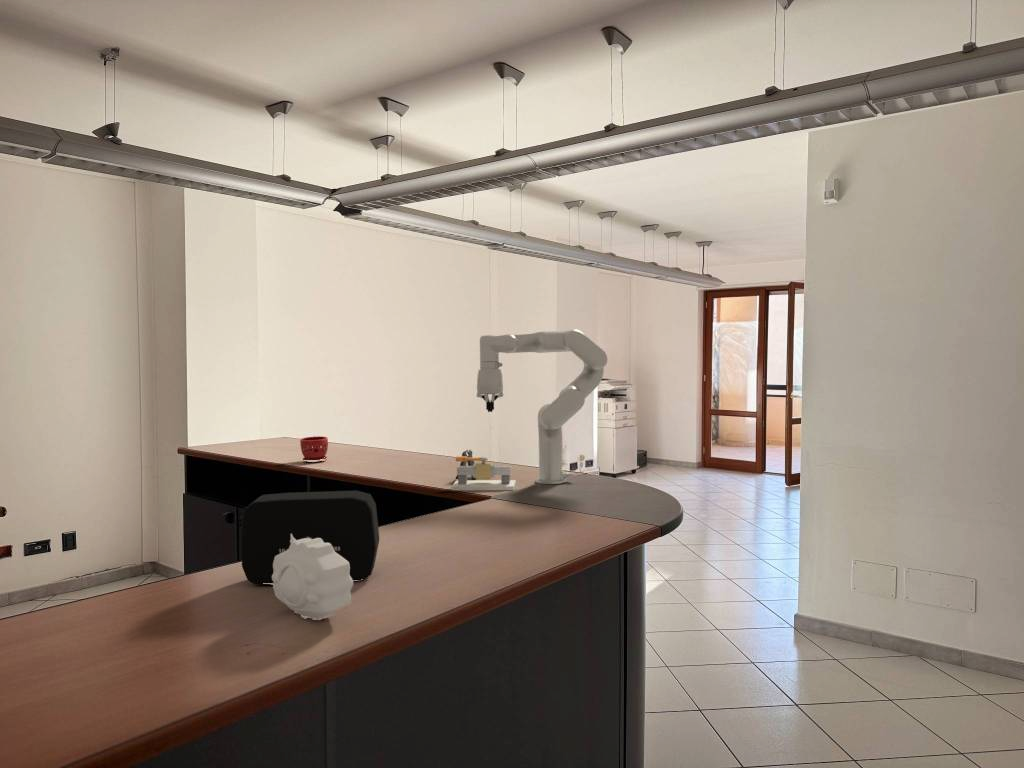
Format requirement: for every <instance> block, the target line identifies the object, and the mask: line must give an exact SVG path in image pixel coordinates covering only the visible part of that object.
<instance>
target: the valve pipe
mask: <svg viewBox="0 0 1024 768" xmlns="http://www.w3.org/2000/svg"><path fill="white" fill-rule="evenodd" d="M457 475H467V476H471V475H473V478H476V480H492V479H493V478H495V476H502V475H510V476H511V475H512V465H496V463H493V461H477V462H475V464H474V465H473V466H468V465H466V466H460V465H458V466H456V476H457Z"/></svg>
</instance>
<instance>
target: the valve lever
mask: <svg viewBox="0 0 1024 768" xmlns="http://www.w3.org/2000/svg"><path fill="white" fill-rule="evenodd" d="M467 456H468V455H467ZM467 456H462V455H461V456H459V455H458V456H455V462H461V461H467V460H474V461H479V462H482V461H486V462H488V457H487V456H481V457H474V456H472V457H467Z"/></svg>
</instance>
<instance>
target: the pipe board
mask: <svg viewBox="0 0 1024 768" xmlns="http://www.w3.org/2000/svg"><path fill="white" fill-rule="evenodd" d="M467 477H468V475H459V476H458V480H455V482H454V483H453V484H452V485H451V490H452V489H458V490H457V491H514V490H515V488H514V487H516V485H517V480H515V479H511V475H500V477H501V479H497V480H495V479H493V480H492V479H491V480H467ZM515 484H516V485H515ZM459 489H460V490H459Z"/></svg>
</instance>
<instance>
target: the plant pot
mask: <svg viewBox="0 0 1024 768" xmlns="http://www.w3.org/2000/svg"><path fill="white" fill-rule="evenodd" d="M299 443H300V449H301V454H302V456H303V457H302V461H303V460H320V459H326V458H327V459H328V456H326V455H327V452H328V447H329V440H328V437H326V436H319V435H318V436H317V435H316V436H308V437H307V436H306V437H302V438H301V439H300V440H299ZM324 457H325V458H324ZM327 459H326V460H327Z"/></svg>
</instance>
